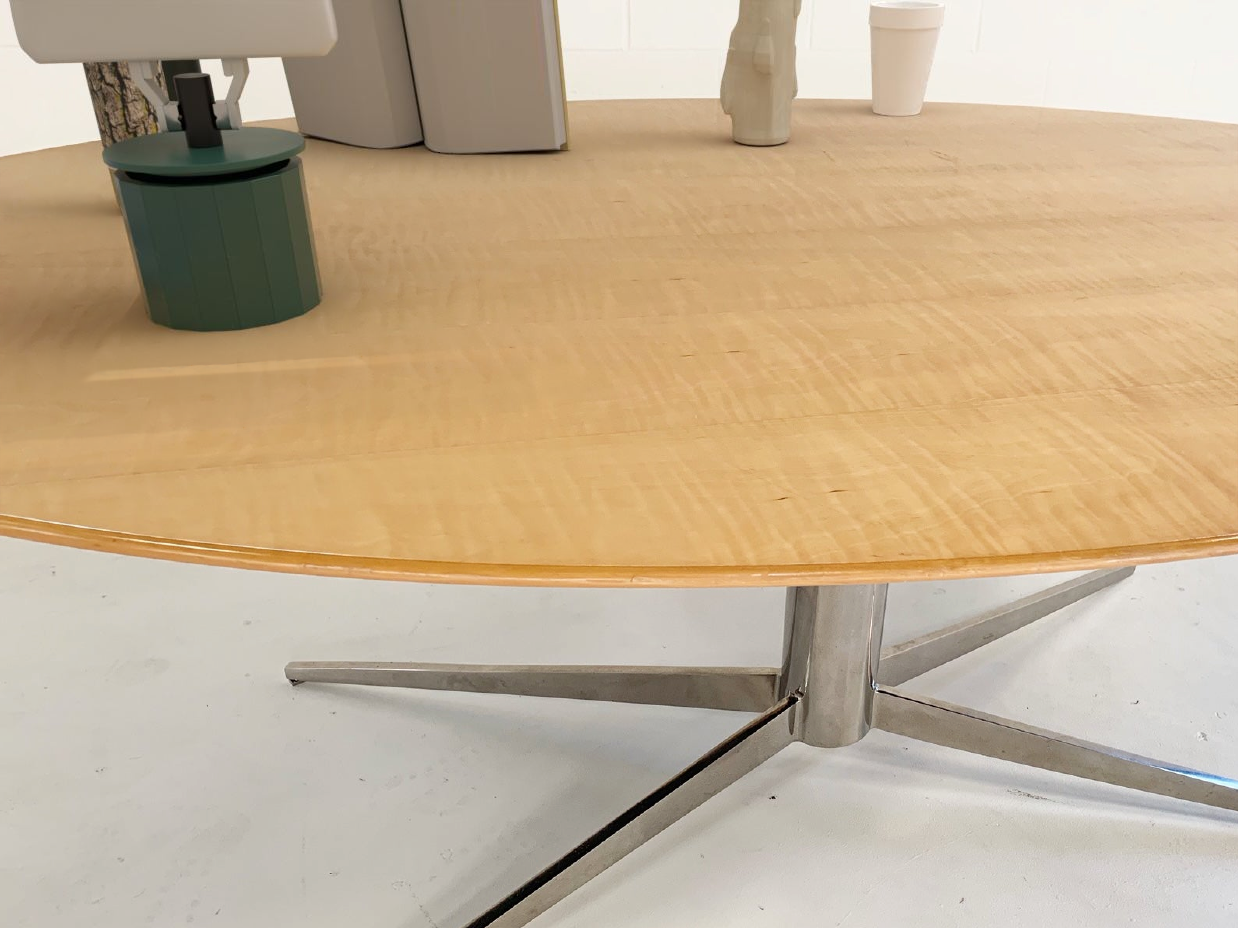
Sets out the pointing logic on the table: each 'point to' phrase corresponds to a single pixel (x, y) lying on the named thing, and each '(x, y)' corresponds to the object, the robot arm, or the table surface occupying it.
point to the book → (437, 77)
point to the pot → (222, 246)
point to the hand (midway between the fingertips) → (202, 129)
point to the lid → (202, 141)
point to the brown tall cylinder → (120, 104)
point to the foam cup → (902, 53)
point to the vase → (761, 71)
